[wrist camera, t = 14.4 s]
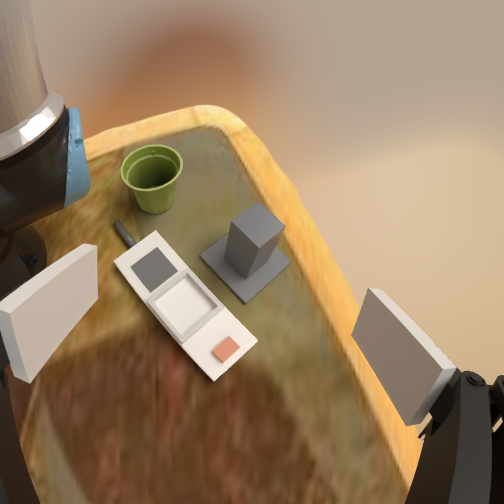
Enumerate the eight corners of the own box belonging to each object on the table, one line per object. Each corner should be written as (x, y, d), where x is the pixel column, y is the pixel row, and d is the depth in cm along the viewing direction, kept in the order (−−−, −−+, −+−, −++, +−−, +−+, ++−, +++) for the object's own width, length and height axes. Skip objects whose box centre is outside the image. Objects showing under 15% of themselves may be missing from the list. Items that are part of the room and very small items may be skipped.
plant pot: (190, 213, 47) (190, 178, 40) (136, 231, 44) (126, 198, 36) (174, 174, 50) (172, 138, 43) (125, 189, 47) (116, 154, 40)
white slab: (98, 240, 42) (92, 229, 39) (137, 212, 45) (134, 201, 43) (213, 381, 36) (214, 380, 33) (255, 343, 39) (259, 339, 37)
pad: (199, 256, 44) (199, 254, 43) (246, 221, 48) (247, 219, 48) (245, 304, 42) (246, 303, 41) (290, 263, 46) (291, 261, 46)
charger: (223, 256, 44) (230, 220, 35) (246, 239, 46) (258, 201, 37) (246, 279, 43) (259, 248, 34) (268, 260, 45) (285, 226, 36)
